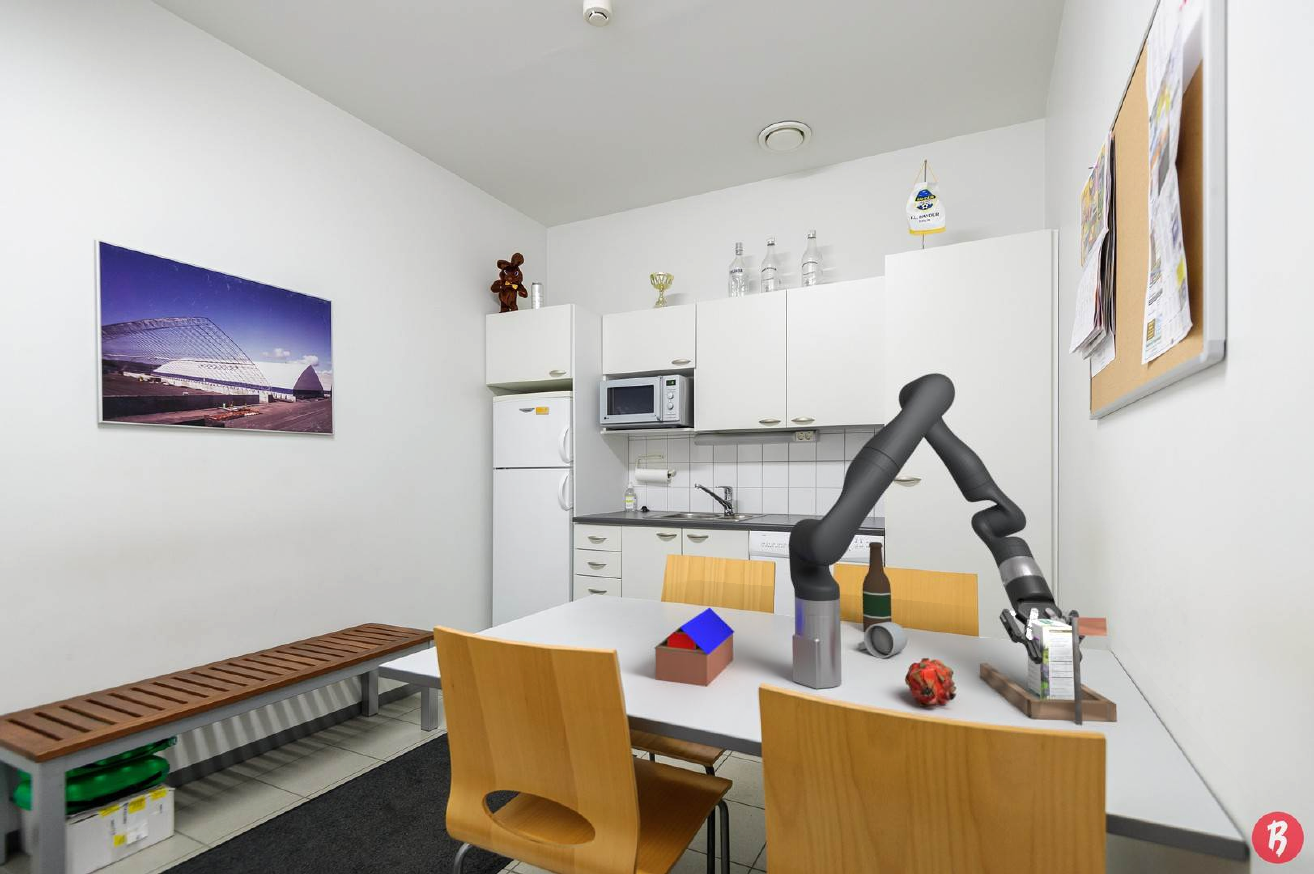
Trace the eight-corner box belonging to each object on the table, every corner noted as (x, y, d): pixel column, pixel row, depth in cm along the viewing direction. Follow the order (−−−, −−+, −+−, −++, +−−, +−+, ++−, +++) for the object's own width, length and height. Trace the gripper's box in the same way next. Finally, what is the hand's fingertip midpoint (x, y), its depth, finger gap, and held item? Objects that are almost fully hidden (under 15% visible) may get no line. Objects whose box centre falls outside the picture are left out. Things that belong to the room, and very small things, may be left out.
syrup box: (1027, 695, 120) (1024, 618, 120) (1059, 695, 119) (1055, 618, 120) (1044, 706, 114) (1041, 625, 115) (1078, 706, 114) (1074, 625, 115)
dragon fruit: (939, 700, 124) (932, 731, 113) (900, 670, 127) (890, 697, 116) (966, 670, 121) (961, 699, 110) (926, 640, 124) (918, 666, 113)
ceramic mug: (910, 653, 150) (908, 621, 150) (895, 661, 144) (893, 627, 144) (867, 646, 157) (866, 614, 158) (851, 652, 151) (850, 620, 152)
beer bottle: (897, 631, 170) (895, 542, 171) (885, 637, 164) (883, 544, 166) (869, 627, 175) (868, 540, 177) (857, 632, 170) (855, 542, 171)
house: (653, 680, 132) (653, 624, 132) (686, 655, 150) (685, 605, 151) (708, 688, 127) (707, 629, 128) (734, 660, 145) (734, 609, 146)
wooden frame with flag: (980, 677, 132) (977, 591, 133) (1050, 679, 131) (1047, 592, 132) (1037, 723, 108) (1033, 617, 109) (1124, 726, 107) (1119, 618, 108)
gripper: (992, 572, 125) (1023, 651, 113) (1069, 573, 124) (1109, 653, 111) (982, 594, 130) (1010, 671, 118) (1056, 595, 129) (1092, 673, 116)
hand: (1058, 662), depth 114 cm, fingers open, 6 cm apart
